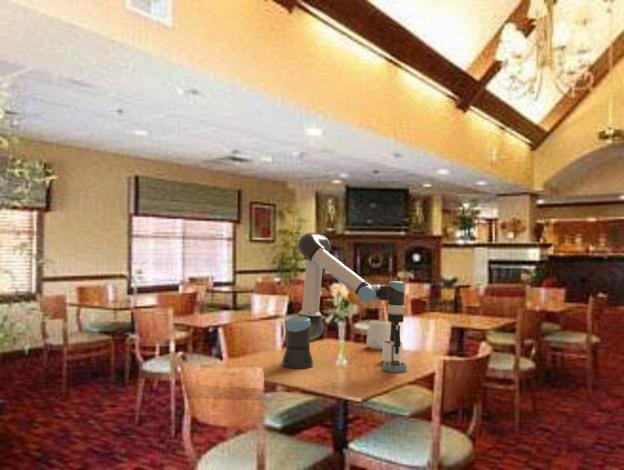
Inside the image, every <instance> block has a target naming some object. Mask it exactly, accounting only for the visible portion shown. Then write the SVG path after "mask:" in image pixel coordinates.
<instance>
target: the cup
mask: <svg viewBox="0 0 624 470" xmlns="http://www.w3.org/2000/svg"><path fill="white" fill-rule="evenodd" d="M400 344H401V345H400V354H399V362H402V361H403V342H401V341H400ZM381 359H382V362H383V363H384V362H389V361H390V362H391V355H390V341H384V342H383V349H382V357H381Z"/></svg>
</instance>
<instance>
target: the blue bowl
mask: <svg viewBox="0 0 624 470" xmlns="http://www.w3.org/2000/svg"><path fill="white" fill-rule="evenodd" d="M407 367H408V365H407V363H405V362H402V361H401V362H399V366H391V362H390V361H389V362H384V361H383V363H382V370H383V371H385V372H390V373H405V372H407V370H408V369H407Z"/></svg>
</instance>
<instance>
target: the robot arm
mask: <svg viewBox="0 0 624 470" xmlns="http://www.w3.org/2000/svg"><path fill="white" fill-rule="evenodd" d="M297 248H298V251H299V253H300V255H302V256H303V261H304V262H305V271H304V272H305V273H304V285H303V299H302V307H301V308H302V309H301V310H300V311H299V312H298V315H296V316H291V317H288V318H287V320H286V325H285V329H286V330H285V337H286V338H285V352H284V355H283V357H282V359H281V360H282V361H281V365H282V367H284V368H288V369H309V368H312V367H314V360H313V357H312V354H311V350H310V349H311V341H312V340H313V341H314V340H315V339H317V338H318V337H320V336H321V335H322V334H323V332H324V322H323V321H322V313H321V312H320V304H321V303H320V301H321V291H322V279H323V277H322V276H323V270H324V271H326V272H327V273H328V274H329V275H331V276H333V277H334V279H336V280H337V281H339V283H341V284H342V285H344V286H345V287H346V288H348V289H349V291H351V292H353V294H355V295H357V296H358V299H359V300H360V302H363V303H372V302H374V301H387V302H388V304H387V322H388V323H389V322H390V355H391V352H392V345H393V347H394V355H393V360H394V361H399V354H400V345H401V344H400V342H401V325H399V323H404V317H405V316H404V311H405V309H406V306H405V292H406V291H405V282H404V281H400V280H398V281H397V280H396V281H395V280H389V282H388V284H376V283H375V284H374V283H368V281H366V280H365V279H363V278H362V277H360V276H359V275H358V274H357V273H355V272H354V271H353V270H352V269H350V268H349V267H348V266H346V265H345V264H343V262H341V261H340V260H339V259H337V258H336V257H335V256H334V255H332V254H330V251H331V243H330V241H329V238H327V237H326V236H325V235H322V234H319V233H306V234H304V235H302V236H301V237H300V238H299V240H298V243H297Z"/></svg>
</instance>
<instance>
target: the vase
mask: <svg viewBox="0 0 624 470" xmlns="http://www.w3.org/2000/svg"><path fill="white" fill-rule="evenodd" d="M390 333H391V328H390V324H389V321H386V320H385V321H384V320H371V321H370V322H369V324H368V330H367V336H366V345H367V347H369V348H370V349H372V350H383V342H384V341H390Z"/></svg>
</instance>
